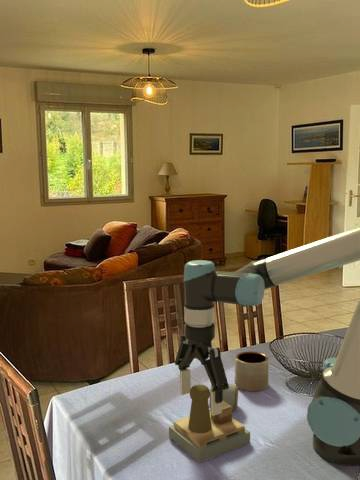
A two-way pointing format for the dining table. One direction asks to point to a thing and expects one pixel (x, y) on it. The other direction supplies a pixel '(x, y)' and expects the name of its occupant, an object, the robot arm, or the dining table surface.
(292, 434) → the dining table surface
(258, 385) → the planter
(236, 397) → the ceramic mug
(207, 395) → the olive pawn
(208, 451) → the dock
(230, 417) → the crate
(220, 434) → the pallet
